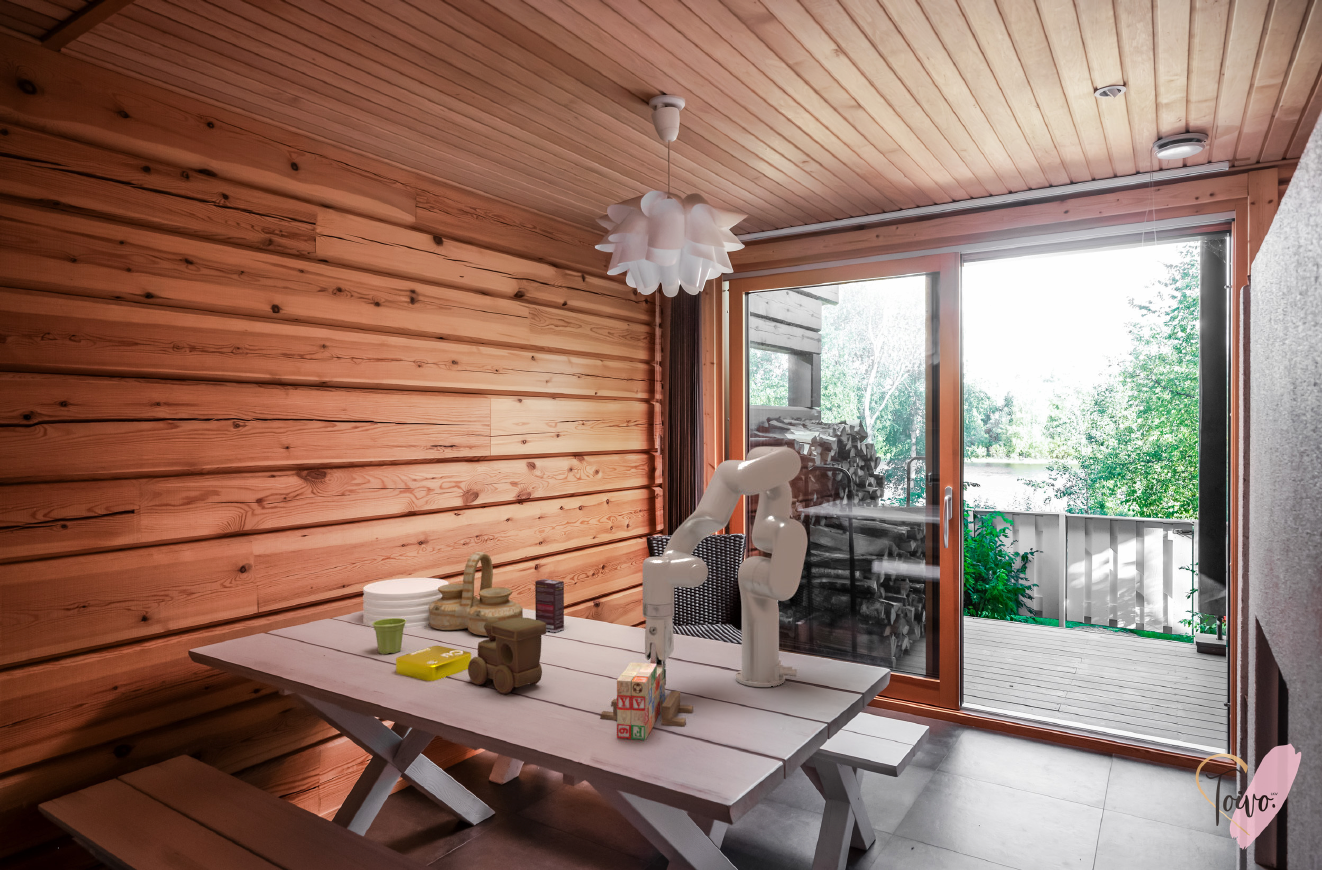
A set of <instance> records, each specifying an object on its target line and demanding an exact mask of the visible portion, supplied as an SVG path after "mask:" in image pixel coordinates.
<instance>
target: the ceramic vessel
mask: <svg viewBox="0 0 1322 870" xmlns="http://www.w3.org/2000/svg"><path fill="white" fill-rule="evenodd" d="M479 562H480V566H481V576H480V577H481V578H480V588H479V591H478V597H477V595H475V577H476V571H477V567H478V564H479ZM493 574H494V569H493V562H492V559H491V556H490V555H489V554H488V553H486V552H483V551H475V552H473V553H472V554H471V555H470V556H469V558H468V559H467V561H466V564H465V566H464V571H463V578H462V582H460V583H456V582H455V583H449V584H447V585H443V586H440V587H439V588H438V591H439V592H440V593H441V594H442V597H441V598H440V599H438V600H436V601H435V602H433V603H432V604H431V605H430V606H429V620H430V625H429V626H431V627H432V628H434V629H437V630H442V631H456V630H463V629H464V630H465V629H468V631H469V632H470V633H472V634H475V635H479V636H484V637H488V635H487V633H486V631H485V629H484V625H485V623H486V621H487V620H488V618H497V619H498V620H499V621H503V620H508V619H512V618H520V617H524V615H523V614H524V613H523V611H524V610H523V607H522V605H521V604H520V603H518V602H516V601H514V600H512V599H509V598H510V596H511V595H512V593H513V589H511V588H509V587H501V586H500V587H499V586H498V587H495V586H494V587H493ZM474 595H475V596H474Z"/></svg>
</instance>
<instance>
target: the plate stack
mask: <svg viewBox="0 0 1322 870" xmlns="http://www.w3.org/2000/svg"><path fill="white" fill-rule="evenodd" d="M447 584H450V582H449V581H447V580H444V579H441V578H436V577H435V578H433V577H405V578H392V579H386V580H379V581H376V582H371V583H369V584H366V585H365V586H363V588H362V593H363V595H362V601H363V604H362V608H363V609H362V610H363V611H362V615H363V618H362V622H363V624H364V625H366V626H368V627H372V628H374V626H373V625H372V623H373V622H375V621H378V620H382V619H389V618H401V619H405V620H406V623H405V626H404V629H407V628H409V629H410V628H417V627H423V626H424V627H425V626H429V625H428V624H430V620H429V606H430V605H431V604H432V603H433V602H435V601H436V600H438V599H440V598H441V597H442V594H441V593H440V592H439V591H438V588H439V587H440V586H443V585H447Z"/></svg>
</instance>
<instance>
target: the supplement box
mask: <svg viewBox="0 0 1322 870" xmlns="http://www.w3.org/2000/svg"><path fill="white" fill-rule="evenodd" d="M564 582H565V581H564V580H556V579H547V578H542V579H541V578H540V579H538V580H535V584H534V585H535V587H534V590H535V591H534V592H535V593H534V594H535V595H534V597H535V604H534V605H535V620H539V621H542V622H545V623H546V632H548V631H550V632H549V633H554V632H556V633H559V632H561V631H560V630H562V631H564V630H565V592H564V591H565V589H564V588H565V583H564ZM558 631H559V632H558Z"/></svg>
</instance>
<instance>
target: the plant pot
mask: <svg viewBox="0 0 1322 870" xmlns="http://www.w3.org/2000/svg"><path fill="white" fill-rule="evenodd" d="M405 623H406V620H405V619H401V618H389V619H382V620H378V621H375V622H373V623H372V625H373V626H374V627H373V629H374V631H375V636H376V643H377V644H376V645H377V651H378V653H379V654H383V655H388V654H390V653H391V654H396V653H398V652H401V651H402V650H401V649H402V643H403V635H404V629H405V628H404V626H405Z"/></svg>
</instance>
